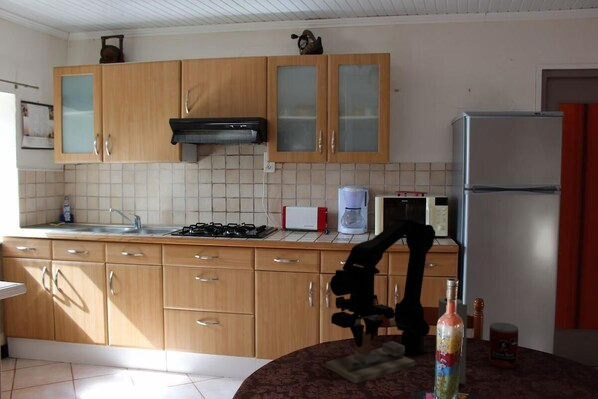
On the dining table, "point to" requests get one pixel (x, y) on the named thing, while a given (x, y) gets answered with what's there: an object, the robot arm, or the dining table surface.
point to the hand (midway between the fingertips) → (363, 345)
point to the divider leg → (365, 350)
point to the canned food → (503, 345)
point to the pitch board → (372, 364)
